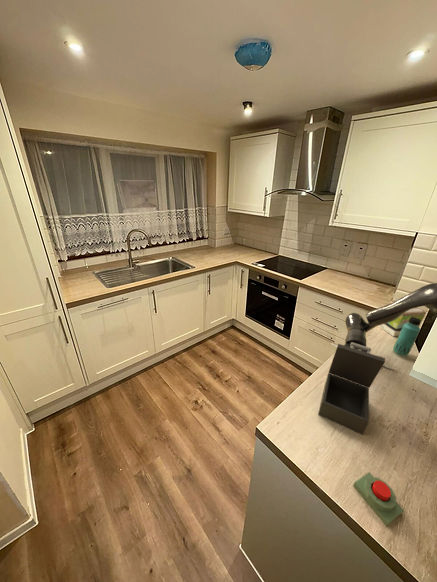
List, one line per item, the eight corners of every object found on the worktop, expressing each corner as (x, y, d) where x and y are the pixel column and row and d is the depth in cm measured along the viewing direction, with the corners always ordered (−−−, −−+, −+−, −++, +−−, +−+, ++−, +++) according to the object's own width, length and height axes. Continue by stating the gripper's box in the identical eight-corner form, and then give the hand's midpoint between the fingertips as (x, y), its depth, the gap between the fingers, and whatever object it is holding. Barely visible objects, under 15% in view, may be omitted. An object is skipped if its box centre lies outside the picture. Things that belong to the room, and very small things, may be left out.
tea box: (393, 337, 126) (403, 313, 120) (378, 326, 135) (387, 304, 128) (416, 334, 129) (427, 311, 123) (399, 324, 138) (409, 302, 131)
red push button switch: (368, 475, 65) (372, 467, 64) (402, 512, 58) (407, 505, 56) (352, 486, 63) (355, 478, 61) (385, 527, 55) (390, 520, 54)
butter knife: (393, 370, 102) (394, 366, 104) (329, 344, 117) (331, 341, 119) (393, 371, 102) (394, 367, 104) (329, 345, 118) (331, 342, 120)
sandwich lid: (384, 361, 74) (385, 349, 77) (337, 346, 80) (340, 336, 83) (369, 388, 85) (370, 376, 88) (328, 372, 91) (331, 362, 94)
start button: (377, 481, 61) (380, 477, 60) (391, 496, 58) (394, 493, 57) (368, 488, 60) (370, 484, 59) (382, 504, 57) (385, 500, 56)
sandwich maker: (362, 435, 76) (368, 422, 73) (318, 414, 82) (322, 402, 79) (363, 400, 88) (368, 387, 85) (324, 384, 94) (328, 372, 92)
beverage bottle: (389, 353, 113) (405, 318, 105) (393, 347, 118) (408, 313, 109) (406, 360, 109) (423, 324, 101) (409, 354, 113) (426, 319, 105)
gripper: (340, 329, 99) (336, 351, 86) (376, 339, 93) (378, 365, 80) (336, 343, 103) (331, 367, 89) (371, 354, 97) (371, 381, 83)
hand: (353, 366), depth 84 cm, fingers closed
